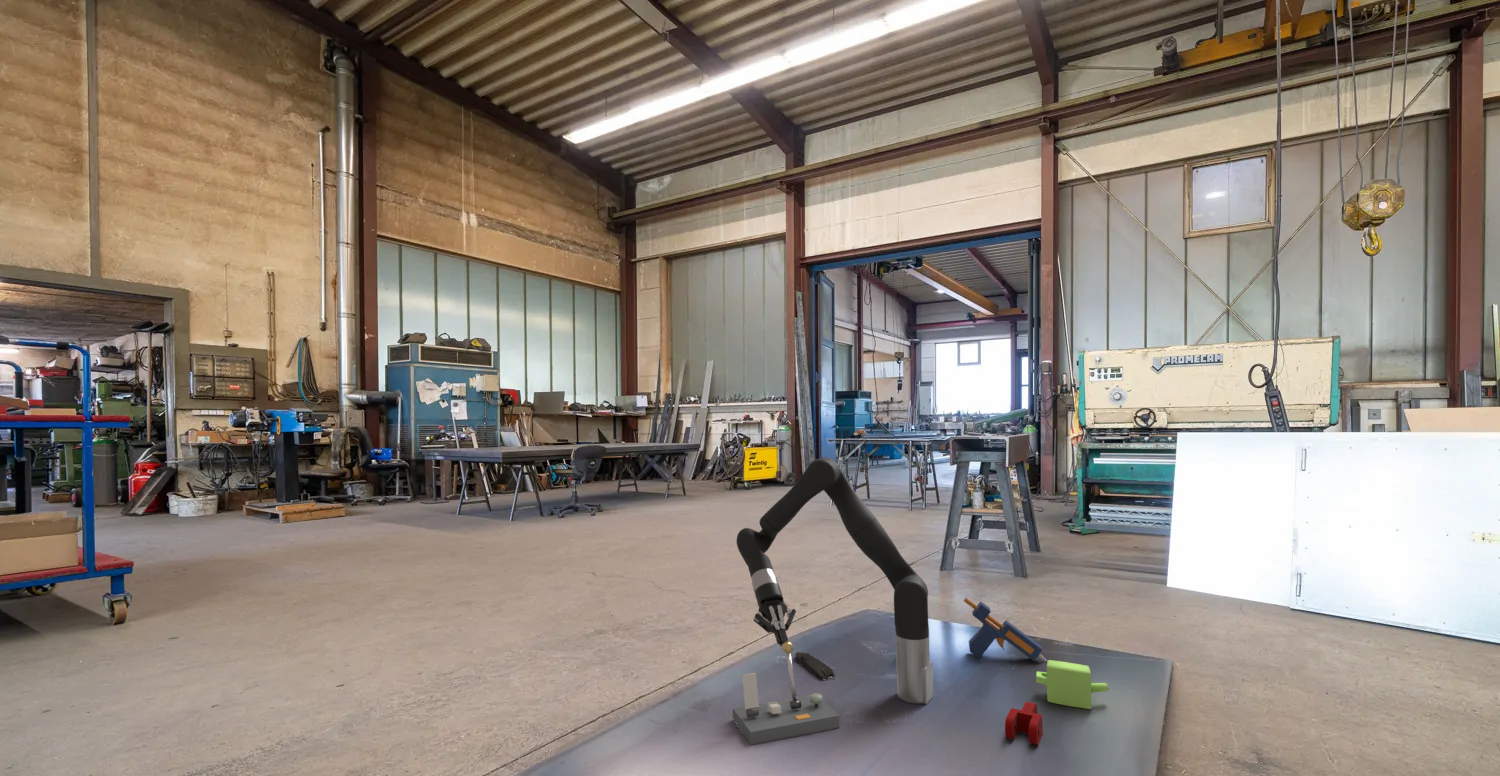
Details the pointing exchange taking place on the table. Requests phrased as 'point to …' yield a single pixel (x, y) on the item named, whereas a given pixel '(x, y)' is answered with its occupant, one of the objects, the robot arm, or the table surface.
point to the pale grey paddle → (750, 694)
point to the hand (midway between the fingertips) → (783, 644)
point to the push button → (816, 699)
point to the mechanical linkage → (1024, 723)
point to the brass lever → (791, 675)
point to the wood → (815, 665)
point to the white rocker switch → (774, 707)
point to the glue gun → (999, 634)
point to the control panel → (785, 720)
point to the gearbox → (1069, 684)
